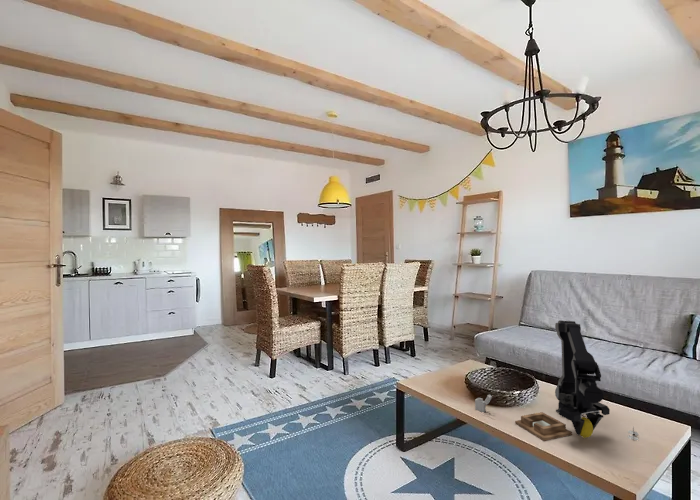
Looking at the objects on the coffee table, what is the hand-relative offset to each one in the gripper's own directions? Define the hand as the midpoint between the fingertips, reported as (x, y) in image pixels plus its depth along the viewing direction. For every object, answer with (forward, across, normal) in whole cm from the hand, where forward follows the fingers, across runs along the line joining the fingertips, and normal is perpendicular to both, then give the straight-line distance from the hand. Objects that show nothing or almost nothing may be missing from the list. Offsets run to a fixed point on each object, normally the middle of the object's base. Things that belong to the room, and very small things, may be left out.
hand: (584, 433), depth 133 cm
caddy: (+2, +8, -11) cm, 14 cm away
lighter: (+3, +20, -31) cm, 37 cm away
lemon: (+2, 0, 0) cm, 2 cm away
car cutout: (+3, -23, +2) cm, 23 cm away
